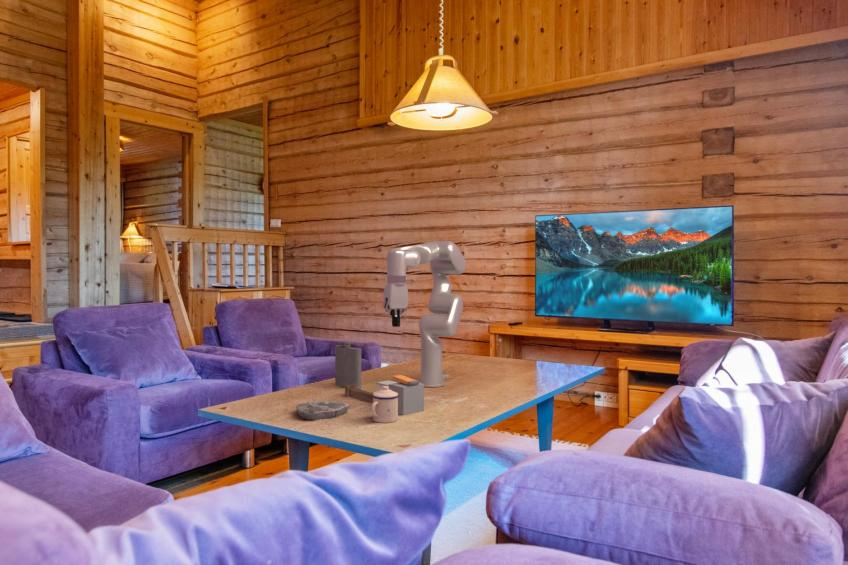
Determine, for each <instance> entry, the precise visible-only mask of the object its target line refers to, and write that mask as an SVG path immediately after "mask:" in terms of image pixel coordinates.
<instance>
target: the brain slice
mask: <svg viewBox="0 0 848 565" xmlns="http://www.w3.org/2000/svg"><path fill="white" fill-rule="evenodd" d="M350 406H351V405H350V404H348V403H345V402H343V401H342V402H341V401H338V400H337V401H335V400H334V401H332V400H321V401H320V400H316V401H315V400H314V401H308V402H306V403H299V404H297V406H295V408H296V411H297V413H298V415H299V416H300V417H301V418H302V419H306V421H320V419H321V420H327V419H332V418H337V416H338V417H339V416H342V415H344V414H346V413H347V412H348V410H349V409H350Z"/></svg>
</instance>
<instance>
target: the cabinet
mask: <svg viewBox="0 0 848 565" xmlns="http://www.w3.org/2000/svg"><path fill="white" fill-rule="evenodd" d="M389 389H390V390H392V391H394V392H397V393H398V395H399V396H398V415H400V416H406V415H407V414H408V415H411V413H412V414H416V413H420V411H421V412H424V410H425V408H424V407H425V404H424V403H425V402H424V401H425V399H424V398H425V397H424V396H425V394H424V393H425V390H424V389H425V387H424V384H422V383H419V384H418V385H413V386H408V385H407V384H404V383H401V382H399V381H398V383H393V384H389Z"/></svg>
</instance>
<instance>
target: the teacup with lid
mask: <svg viewBox="0 0 848 565" xmlns="http://www.w3.org/2000/svg"><path fill="white" fill-rule="evenodd" d="M372 393H373V395H372V397H373V403H371V404H372V405H371V407H370V408H371V414H372V420H373V421H374V422H375V423H382V424H389V423H394V422H396V421H398V419H399V416H398V415H399V414H398V396H399V395H398V393H397V392H394V391H392V390H390V389H388V386H383V389H381V390H379V391H377V390H376V391H374V392H372Z"/></svg>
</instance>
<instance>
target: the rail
mask: <svg viewBox="0 0 848 565" xmlns="http://www.w3.org/2000/svg"><path fill="white" fill-rule="evenodd" d="M373 393H374V392H371V391H367V390H363V389H358V384H349V385H345V388H344V396H345V397H346V398H348V397H349V398H353V399H357V400H360V401H363V400H364V402H368V403H371V404H373V397H372V395H373Z"/></svg>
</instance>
